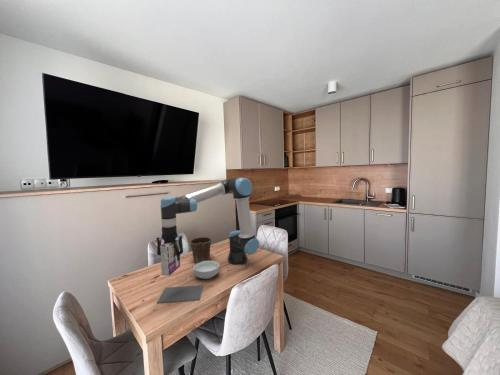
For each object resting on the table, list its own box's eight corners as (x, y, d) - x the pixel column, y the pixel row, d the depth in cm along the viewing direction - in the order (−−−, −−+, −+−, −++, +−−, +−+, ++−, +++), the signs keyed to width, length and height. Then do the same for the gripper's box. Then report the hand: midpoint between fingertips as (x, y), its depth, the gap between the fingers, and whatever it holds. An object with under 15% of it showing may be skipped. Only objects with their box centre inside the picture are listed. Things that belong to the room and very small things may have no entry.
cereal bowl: (223, 271, 142) (223, 261, 141) (214, 283, 125) (213, 272, 125) (200, 269, 145) (200, 259, 145) (188, 281, 129) (188, 270, 128)
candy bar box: (172, 265, 120) (171, 238, 119) (180, 266, 119) (179, 238, 118) (160, 275, 109) (159, 245, 108) (169, 276, 108) (168, 245, 107)
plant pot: (187, 264, 152) (186, 243, 151) (195, 256, 168) (194, 236, 167) (208, 265, 150) (207, 244, 149) (214, 256, 166) (213, 237, 165)
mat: (202, 285, 123) (202, 284, 123) (199, 300, 109) (199, 299, 109) (165, 288, 121) (165, 287, 121) (156, 303, 107) (156, 302, 107)
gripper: (188, 223, 117) (189, 262, 118) (153, 224, 115) (155, 264, 116) (185, 226, 109) (187, 268, 111) (148, 228, 107) (150, 270, 109)
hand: (171, 266), depth 114 cm, fingers closed on candy bar box, 6 cm apart
